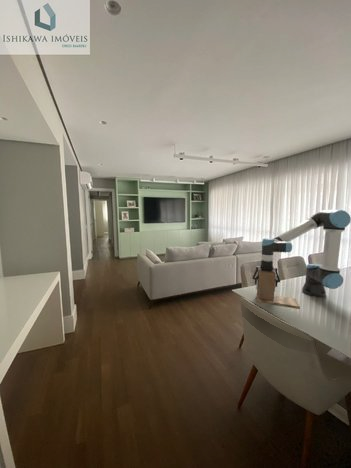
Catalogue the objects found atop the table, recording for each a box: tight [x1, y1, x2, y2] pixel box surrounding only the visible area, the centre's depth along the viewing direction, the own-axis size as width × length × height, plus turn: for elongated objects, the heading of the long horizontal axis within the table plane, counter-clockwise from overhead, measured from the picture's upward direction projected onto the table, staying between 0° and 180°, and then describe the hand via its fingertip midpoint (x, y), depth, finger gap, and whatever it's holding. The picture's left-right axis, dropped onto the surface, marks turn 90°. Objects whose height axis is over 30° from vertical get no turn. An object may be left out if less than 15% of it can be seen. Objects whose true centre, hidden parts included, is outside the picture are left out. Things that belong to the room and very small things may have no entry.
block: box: [256, 269, 276, 300], centre depth 140 cm, size 10×10×20 cm
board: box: [256, 294, 301, 309], centre depth 138 cm, size 26×13×1 cm, turn 68°
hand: (265, 289), depth 140 cm, fingers open, 11 cm apart
